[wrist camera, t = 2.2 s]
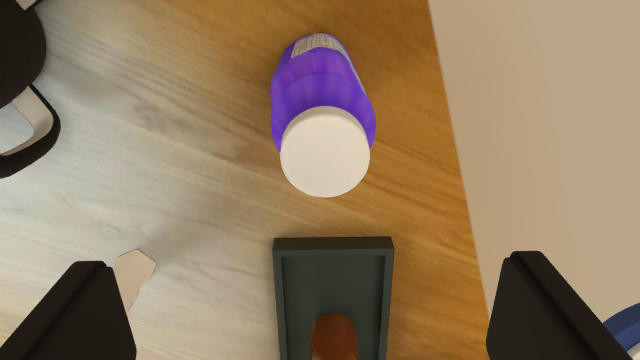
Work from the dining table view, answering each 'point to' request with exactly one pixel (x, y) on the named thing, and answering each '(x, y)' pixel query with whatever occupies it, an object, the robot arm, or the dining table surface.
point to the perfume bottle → (132, 275)
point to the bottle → (321, 117)
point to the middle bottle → (333, 338)
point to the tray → (333, 290)
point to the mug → (24, 82)
